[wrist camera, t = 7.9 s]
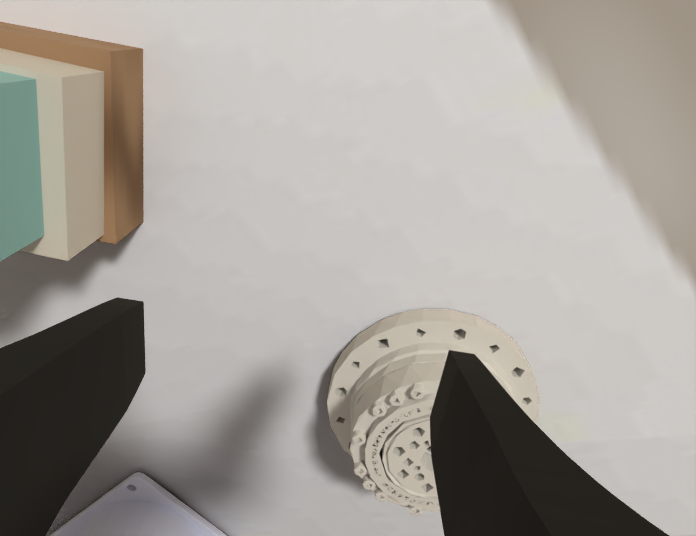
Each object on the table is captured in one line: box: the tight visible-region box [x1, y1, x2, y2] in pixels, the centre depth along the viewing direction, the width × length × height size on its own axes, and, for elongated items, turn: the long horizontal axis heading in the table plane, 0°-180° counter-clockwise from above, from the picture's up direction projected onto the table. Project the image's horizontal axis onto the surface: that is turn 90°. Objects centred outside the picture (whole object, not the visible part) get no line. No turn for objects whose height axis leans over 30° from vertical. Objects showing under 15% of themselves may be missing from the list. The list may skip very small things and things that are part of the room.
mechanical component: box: [327, 309, 539, 516], centre depth 23 cm, size 10×4×10 cm
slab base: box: [0, 22, 143, 244], centre depth 19 cm, size 7×7×3 cm
